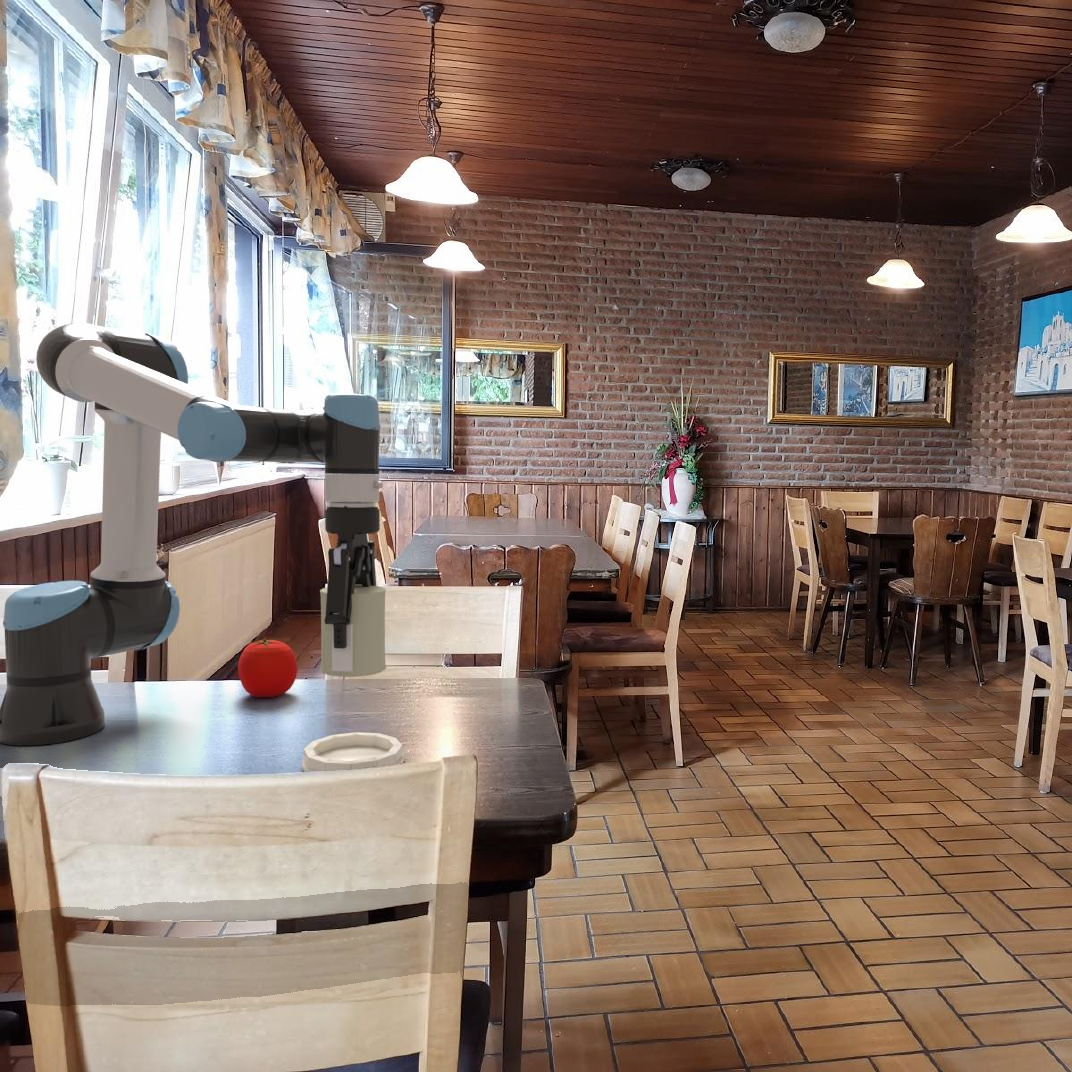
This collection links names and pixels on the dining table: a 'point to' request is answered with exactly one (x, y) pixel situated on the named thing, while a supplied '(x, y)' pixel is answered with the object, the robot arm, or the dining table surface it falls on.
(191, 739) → the dining table surface
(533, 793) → the dining table surface
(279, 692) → the tomato
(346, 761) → the saucer
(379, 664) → the can
